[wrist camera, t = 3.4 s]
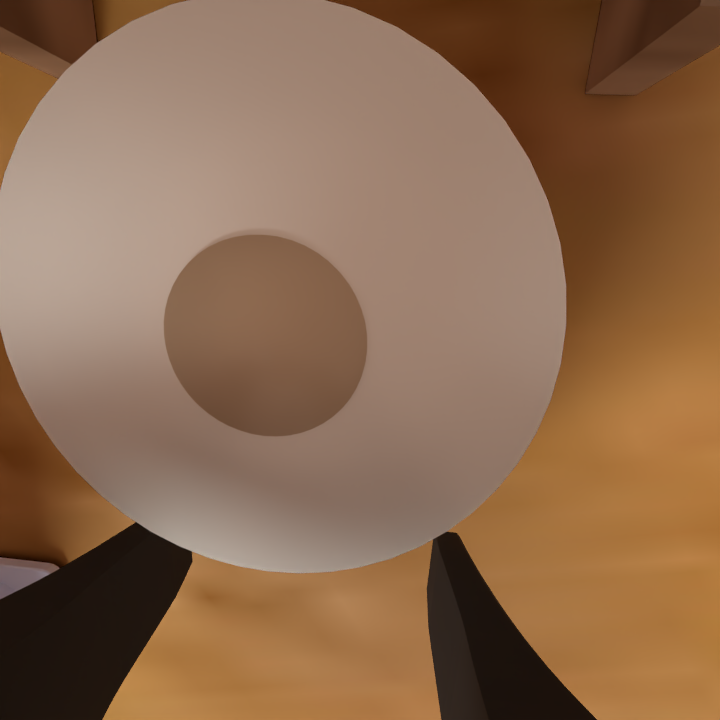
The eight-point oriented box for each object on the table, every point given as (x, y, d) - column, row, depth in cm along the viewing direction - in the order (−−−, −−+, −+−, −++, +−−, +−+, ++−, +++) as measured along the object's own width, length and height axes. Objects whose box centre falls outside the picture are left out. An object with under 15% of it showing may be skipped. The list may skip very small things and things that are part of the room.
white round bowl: (462, 441, 13) (512, 604, 7) (192, 416, 14) (40, 549, 8) (507, 127, 10) (642, -8, 5) (169, 114, 11) (-82, -20, 5)
